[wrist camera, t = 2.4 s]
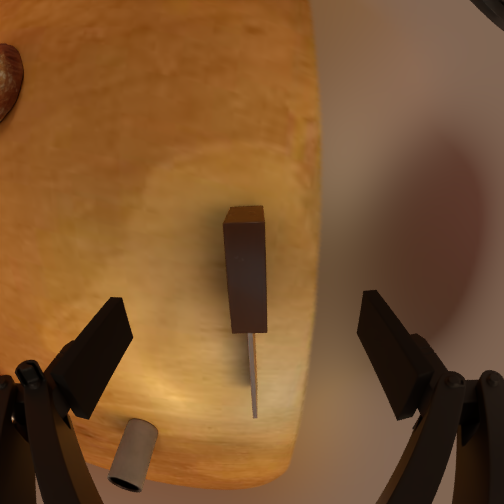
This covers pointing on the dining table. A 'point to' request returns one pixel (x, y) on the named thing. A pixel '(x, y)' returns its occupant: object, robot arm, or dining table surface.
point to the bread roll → (9, 77)
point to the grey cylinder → (133, 456)
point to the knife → (247, 278)
